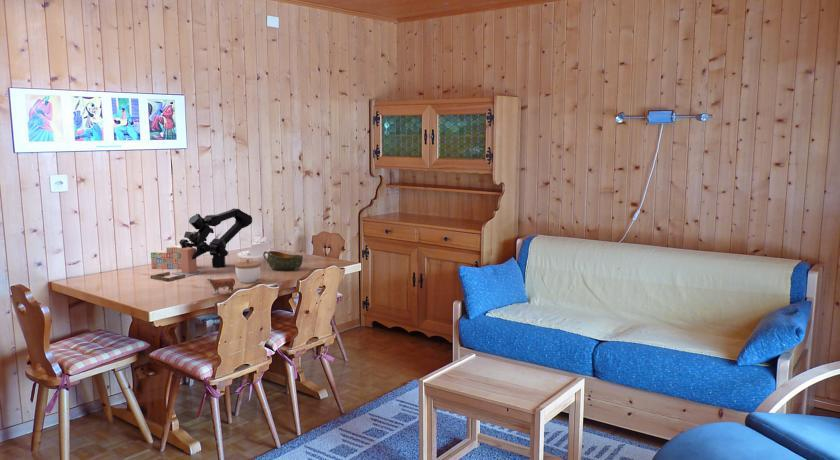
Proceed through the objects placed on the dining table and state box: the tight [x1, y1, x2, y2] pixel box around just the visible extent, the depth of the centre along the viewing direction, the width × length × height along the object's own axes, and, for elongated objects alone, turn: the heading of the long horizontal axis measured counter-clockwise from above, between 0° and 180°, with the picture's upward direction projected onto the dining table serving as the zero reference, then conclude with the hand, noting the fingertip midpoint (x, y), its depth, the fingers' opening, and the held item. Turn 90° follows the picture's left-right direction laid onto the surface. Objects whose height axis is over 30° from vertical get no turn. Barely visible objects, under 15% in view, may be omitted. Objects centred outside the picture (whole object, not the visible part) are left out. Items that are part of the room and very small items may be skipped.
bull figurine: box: [205, 276, 236, 296], centre depth 310 cm, size 4×13×8 cm, turn 95°
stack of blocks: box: [150, 245, 194, 270], centre depth 368 cm, size 21×6×12 cm, turn 85°
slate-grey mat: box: [172, 269, 206, 277], centre depth 355 cm, size 12×12×1 cm
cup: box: [263, 250, 304, 272], centre depth 364 cm, size 13×20×10 cm, turn 56°
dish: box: [237, 235, 280, 259], centre depth 409 cm, size 25×25×11 cm
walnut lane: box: [150, 271, 186, 282], centre depth 343 cm, size 11×13×2 cm
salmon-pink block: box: [180, 247, 198, 274], centre depth 354 cm, size 6×6×13 cm
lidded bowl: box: [234, 259, 262, 284], centre depth 336 cm, size 13×13×11 cm
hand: (186, 258), depth 352 cm, fingers open, 9 cm apart
